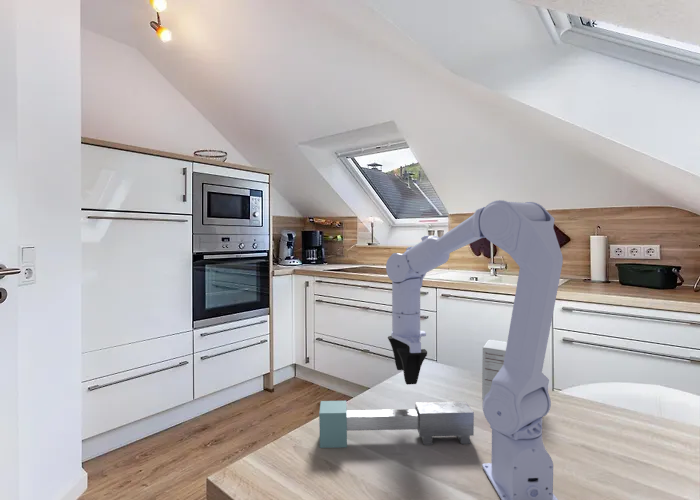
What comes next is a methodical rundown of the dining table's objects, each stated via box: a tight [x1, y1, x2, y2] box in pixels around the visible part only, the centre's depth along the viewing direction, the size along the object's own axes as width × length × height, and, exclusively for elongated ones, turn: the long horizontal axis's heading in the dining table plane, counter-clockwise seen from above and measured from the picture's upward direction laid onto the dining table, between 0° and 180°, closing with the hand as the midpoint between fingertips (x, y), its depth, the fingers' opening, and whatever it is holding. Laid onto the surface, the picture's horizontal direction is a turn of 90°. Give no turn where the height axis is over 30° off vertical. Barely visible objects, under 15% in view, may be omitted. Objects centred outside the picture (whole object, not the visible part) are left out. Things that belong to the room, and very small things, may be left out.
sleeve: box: [414, 401, 475, 446], centre depth 74 cm, size 4×10×6 cm, turn 91°
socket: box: [318, 400, 348, 449], centre depth 73 cm, size 5×5×6 cm
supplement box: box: [481, 339, 507, 400], centre depth 91 cm, size 7×7×13 cm
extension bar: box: [347, 408, 419, 432], centre depth 73 cm, size 3×17×3 cm, turn 91°
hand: (406, 376), depth 80 cm, fingers open, 7 cm apart
